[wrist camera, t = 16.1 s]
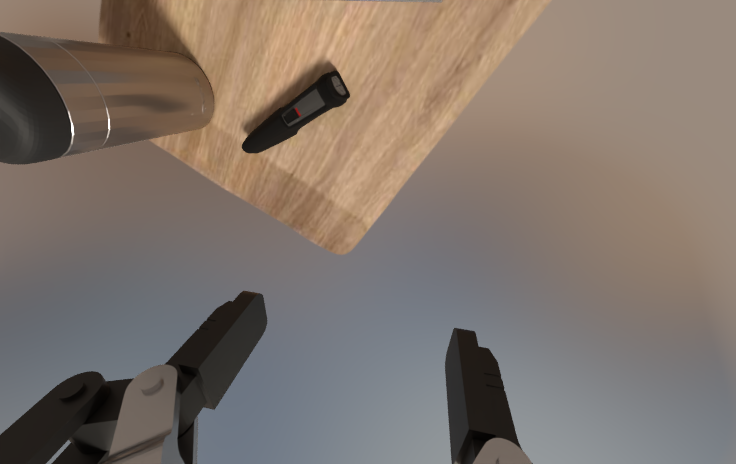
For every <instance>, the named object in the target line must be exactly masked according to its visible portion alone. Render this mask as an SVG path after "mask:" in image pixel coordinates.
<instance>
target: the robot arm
mask: <svg viewBox="0 0 736 464" xmlns="http://www.w3.org/2000/svg"><path fill="white" fill-rule="evenodd" d="M213 111H214V98H213V93H212V89H211V86H210V84H209V82H208V80H207V78H206V76H205V75H204V73H203V72H202V71H201V69H200V68H199V67H198V66H197V65H196V64H195V63H194V62H193V61H191V60H190V59H189V58H187V57H185V56H183V55H181V54H178V53H175V52H166V51H158V50H149V49H142V48H134V47H125V46H117V45H109V44H100V43H92V42H83V41H74V40H67V39H58V38H50V37H41V36H31V35H23V34H15V33H5V32H0V162H3V163H8V164H30V163H37V162H42V161H47V160H52V159H56V158H61V157H66V156H71V155H76V154H80V153H85V152H90V151H94V150H99V149H104V148H108V147H114V146H119V145H123V144H128V143H133V142H138V141H143V140H148V139H153V138H158V137H162V136H167V135H172V134H178V133H182V132H187V131H192V130H197V129H200V128H202V127H204V126H206V125H207V124H208V123H209V121H210V119H211V118H212V115H213ZM266 325H267V316H266V310H265V304H264V298H263V295H262V294H260V293H254V292H248V291H243V292H241V293H240V294H239V295H238V297H237V298H236V299H235V300H234V301H233V302H232V301H228V302H226V303H225V304H223V305H222V306H220V307H218V308H217V309H216V310H215V311H214V312H213V313H212V314H211V315H210V317H208V319H207V321H205V322H204V323H203V324H202V325H201V326H200V328H199V329H197V330H196V331H195V333H194V334H193V335H192V336H191V337H190V338H189V339H188V340H187V341H186V342H185V343H184V344H183V346H182V347H181V348H180V349H179V350H178V351H177V352H176V353H175V354H174V355H173V356H172V357H171V358H170V360H169V361H168V362H167V363H166V364H164V365H158V366H154V367H152V368H150V369H147V370H145V371H144V372H142V373H141V374H139V375H138V376H137V377H136V378H133V379H124V380H116V381H107V382H106V381H105V379H104V378H103V376H102V375H101V374H100V373H98V372H93V371H91V372H84V373H81V374H77V375H75V376H73V377H71V378H69V379H67V380H65V381H63V382H62V383H60V384H59V385H57V386H56V387H55V388H54V389H52V390H51V391H50V392H49V393H48V394H47V395H46V396H44V397H43V398H42V399H41V400H40V401H39V402H38V403H36V404H35V405H34V406H33V407H32V408H31V409H29V411H27V412H26V413H25V414H24V415H23V416H21V417H20V418H19V419H18V420H17V421H16V422H15V423H13V424H12V425H11V426H10V427H9V428H8V429H7V430H5V431H4V432H3V433H2V434H1V435H0V464H46V463H47V462H48V461H49V460H50V459H51V458H52V456H53V455H54V454H55V453H56V452H57V451H58V450H59V449H60V448H61V447H62V446H63V445H64V444H65V443H66V442H67V440H70V442H71V443H70V444H69V445H68V447H67V448H66V449H65V450H64V451H63V452H62V453H61V454H60V455H59V456H58V457H57V458H56V460H55V461H54V462H53V463H52V464H197V438H198V417H197V415H198V414H199V413H200V411H201V410H202V408H203V407H206V408H210V409H215V408H216V406H217V405H218V403H219V402H220V400H221V399H222V397H223V396H224V394H225V393H226V391H227V389H228V388H229V386H230V385H231V383H232V382H233V380H234V379H235V377H236V375H237V374H238V372H239V371H240V369H241V368H242V366H243V364H244V363H245V361H246V360H247V358H248V357H249V355H250V354H251V352H252V351H253V349H254V347H255V346H256V344H257V343H258V341H259V340H260V338H261V337H262V335H263V333H264V331H265V329H266ZM445 373H446V387H447V401H448V416H449V429H450V443H451V458H452V464H532V463H531V461H530V460H529V458H528V457H527V455H526V454H525V453H524V452H523V450H522V449H521V447H520V444H519V442H518V439H517V436H516V432H515V428H514V424H513V420H512V416H511V412H510V408H509V405H508V401H507V397H506V393H505V391H504V386H503V381H502V379H501V374H500V370H499V366H498V362H497V360H496V359H495V358H494V356H493V354H492V353H491V351H490V350H489V349H488V348H483V347H478V343H477V337H476V333H475V332H474V331H470V330H464V329H458V328H454V330H453V333H452V336H451V339H450V343H449V347H448V350H447V354H446V361H445Z"/></svg>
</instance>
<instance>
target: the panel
mask: <svg viewBox="0 0 736 464" xmlns="http://www.w3.org/2000/svg"><path fill="white" fill-rule="evenodd" d="M347 1H401V2H442V0H347Z"/></svg>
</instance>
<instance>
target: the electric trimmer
mask: <svg viewBox="0 0 736 464" xmlns="http://www.w3.org/2000/svg"><path fill="white" fill-rule="evenodd" d="M349 97H350V94H349V92H348V90H347V88H346V86H345V84H344V82H343V80H342V78H341V76H340V75H339V73H338V72H337V71H333V72H331V73H326V74H324V75H322V76H321V77H320V78H319V79H318V80H317V81H316V82H315V83H314V84H313V85H311V86H310V87H309V88H308V89H306V90H305V91H304V92H303V93H301V94H300V95H299V96H298V97H296V98H295V99H294V100H293V101H291V102H290V103H289V104H287V105H286V106H284V107H282V108H279V109H278V110H277V111H276V112H274V113H273V114H272V115H271V116H270V117H268V118H267V119H266V120H265V121H264V122H263V123H262V124H261V125H259V126H258V127H257V128H256V129H255V130H254V131H253V132H252V133H251V134H250V135H249V136H248V137H247V138H246V139H245V141H244V142H243V144H242V149H243V150H244V151H245V152H247V153H259V152H262V151H264V150H266V149H268V148H270V147H272V146H274V145H276V144H279V143H281V142H283V141H285V140H287V139H289V138H290V137H292V136H294V135H296V134H297V132H298V130H299V129H300V128H301V127H303V126H304V125H306V124H307V123H309V122H310V121H312V120H313V119H315V118H317V117H318V116H320V115H321V114H323V113H325V112H326V111H328V110H330V109H332V108H335V107H339V106H341V105H343V104H344V103H345V102H346V100H347V99H348V98H349Z"/></svg>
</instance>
